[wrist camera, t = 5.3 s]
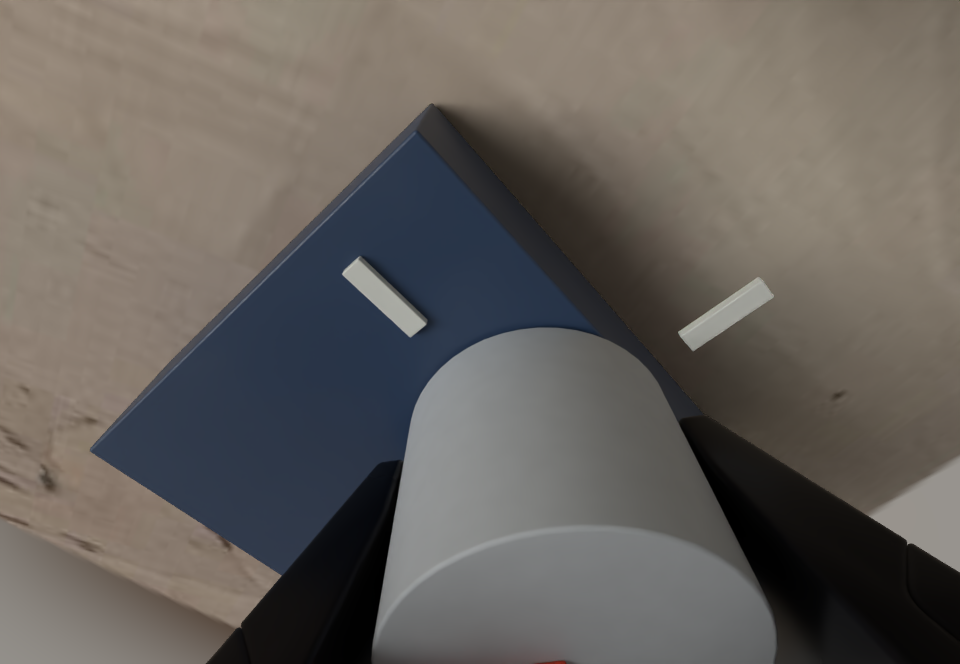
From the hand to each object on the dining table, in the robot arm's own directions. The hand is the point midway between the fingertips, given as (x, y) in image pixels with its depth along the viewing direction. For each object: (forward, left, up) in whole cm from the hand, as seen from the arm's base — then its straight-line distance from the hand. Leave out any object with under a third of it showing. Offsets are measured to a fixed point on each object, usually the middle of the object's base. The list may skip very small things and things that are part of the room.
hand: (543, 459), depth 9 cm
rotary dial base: (0, +1, -3) cm, 4 cm away
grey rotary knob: (0, 0, 0) cm, 0 cm away
